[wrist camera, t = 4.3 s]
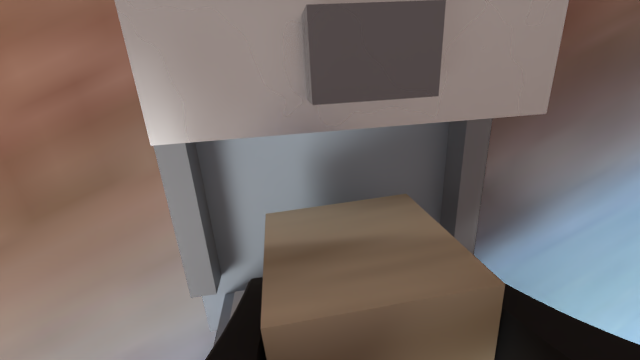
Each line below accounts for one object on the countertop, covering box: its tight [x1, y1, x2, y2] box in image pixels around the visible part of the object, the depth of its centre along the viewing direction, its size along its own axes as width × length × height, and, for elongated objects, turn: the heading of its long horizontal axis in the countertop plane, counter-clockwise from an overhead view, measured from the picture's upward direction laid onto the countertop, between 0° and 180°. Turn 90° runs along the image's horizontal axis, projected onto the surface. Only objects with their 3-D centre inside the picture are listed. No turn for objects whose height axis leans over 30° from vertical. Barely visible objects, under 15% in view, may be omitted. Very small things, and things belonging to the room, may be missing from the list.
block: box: [260, 194, 505, 360], centre depth 9 cm, size 4×5×5 cm
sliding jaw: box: [115, 0, 569, 146], centre depth 8 cm, size 3×9×6 cm, turn 93°
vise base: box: [153, 118, 492, 345], centre depth 11 cm, size 15×12×6 cm
